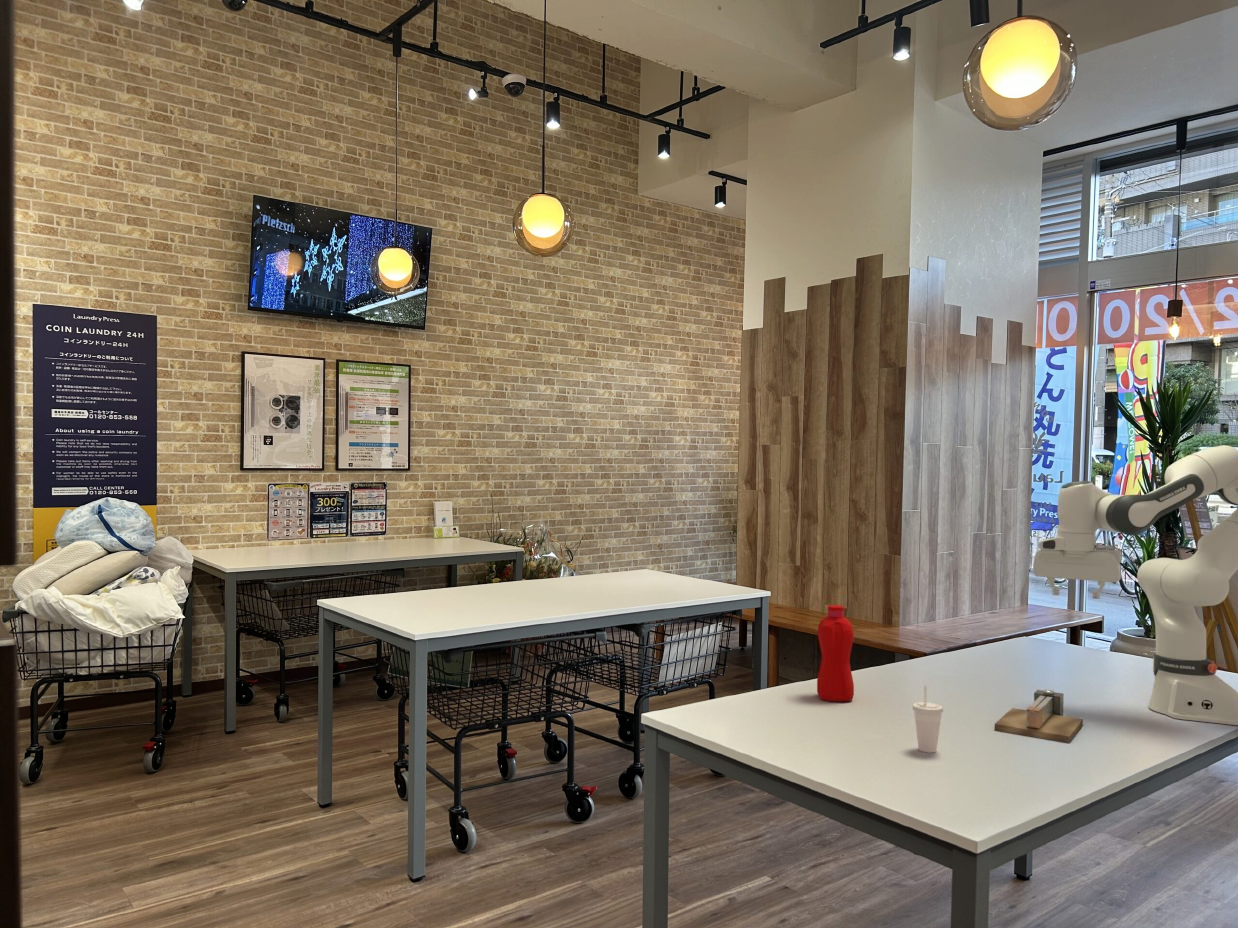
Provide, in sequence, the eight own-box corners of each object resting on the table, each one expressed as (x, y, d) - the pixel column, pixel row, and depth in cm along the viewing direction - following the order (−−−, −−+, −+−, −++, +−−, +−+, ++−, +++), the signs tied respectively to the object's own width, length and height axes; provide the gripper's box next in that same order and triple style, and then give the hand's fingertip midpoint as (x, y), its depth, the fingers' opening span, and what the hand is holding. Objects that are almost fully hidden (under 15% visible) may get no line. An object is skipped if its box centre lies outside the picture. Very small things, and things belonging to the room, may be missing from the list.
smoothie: (918, 743, 198) (918, 681, 198) (947, 749, 194) (947, 685, 194) (907, 750, 193) (908, 686, 193) (936, 756, 189) (937, 691, 189)
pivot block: (1063, 717, 221) (1063, 690, 221) (1060, 720, 217) (1060, 694, 217) (1037, 713, 224) (1037, 687, 224) (1033, 716, 221) (1034, 690, 221)
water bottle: (848, 692, 243) (849, 602, 243) (855, 703, 232) (856, 608, 232) (814, 691, 244) (815, 601, 244) (819, 702, 233) (820, 607, 233)
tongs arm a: (1047, 712, 218) (1047, 696, 218) (1052, 713, 218) (1052, 696, 218) (1032, 727, 206) (1033, 709, 206) (1038, 728, 205) (1039, 710, 205)
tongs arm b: (1040, 711, 219) (1040, 695, 219) (1045, 712, 219) (1045, 695, 219) (1026, 726, 206) (1026, 708, 206) (1032, 727, 206) (1032, 709, 206)
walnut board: (1082, 724, 214) (1082, 718, 214) (1069, 742, 200) (1069, 736, 200) (1012, 713, 224) (1012, 707, 224) (994, 730, 209) (994, 723, 209)
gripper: (1123, 545, 225) (1123, 599, 225) (1036, 540, 237) (1036, 592, 237) (1120, 546, 220) (1119, 602, 220) (1031, 542, 232) (1031, 594, 232)
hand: (1075, 596), depth 229 cm, fingers open, 8 cm apart
